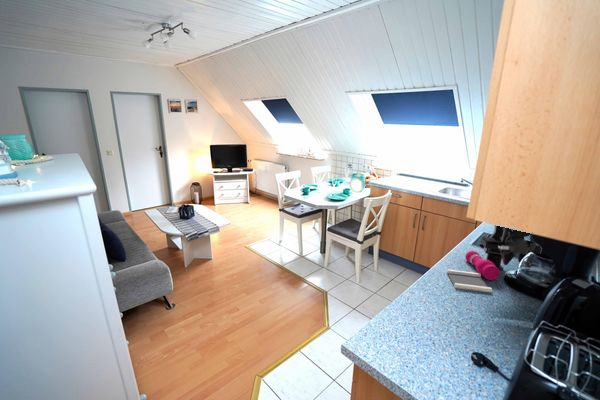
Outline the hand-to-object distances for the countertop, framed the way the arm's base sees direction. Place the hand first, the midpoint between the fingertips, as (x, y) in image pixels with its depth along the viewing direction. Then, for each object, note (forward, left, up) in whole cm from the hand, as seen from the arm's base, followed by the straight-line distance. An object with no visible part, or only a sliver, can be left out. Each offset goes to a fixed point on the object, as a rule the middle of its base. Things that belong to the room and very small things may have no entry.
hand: (505, 264), depth 110 cm
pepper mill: (-3, -2, -6) cm, 7 cm away
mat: (0, -12, -10) cm, 16 cm away
